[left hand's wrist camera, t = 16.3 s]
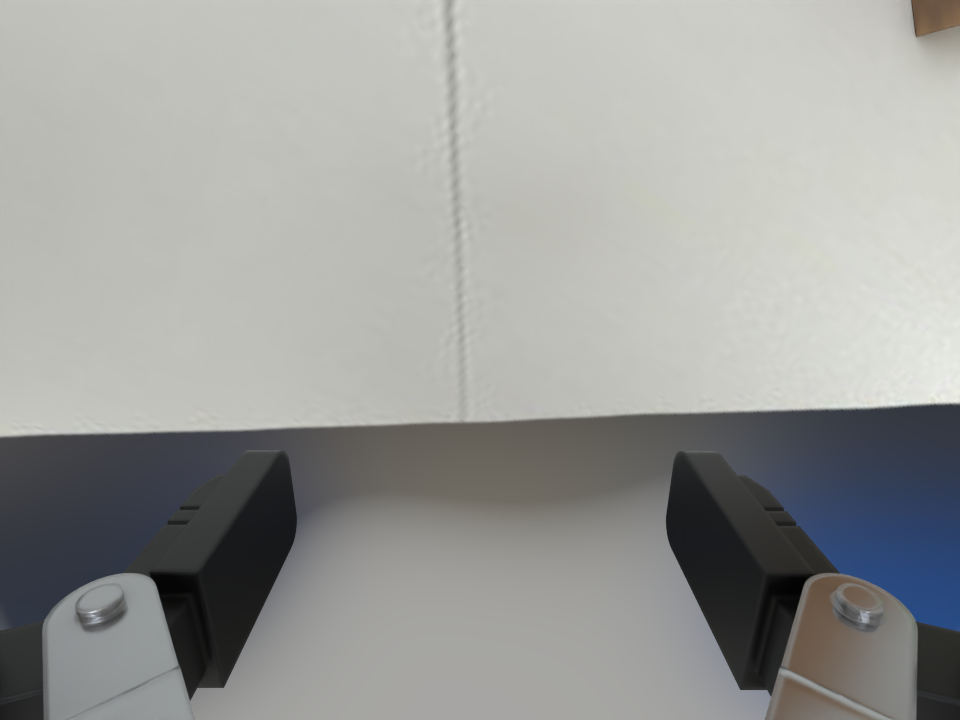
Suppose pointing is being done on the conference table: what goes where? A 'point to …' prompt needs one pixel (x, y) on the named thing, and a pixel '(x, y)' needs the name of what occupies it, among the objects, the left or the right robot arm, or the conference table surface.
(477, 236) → the conference table surface
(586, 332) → the conference table surface
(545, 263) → the conference table surface
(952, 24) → the bar
